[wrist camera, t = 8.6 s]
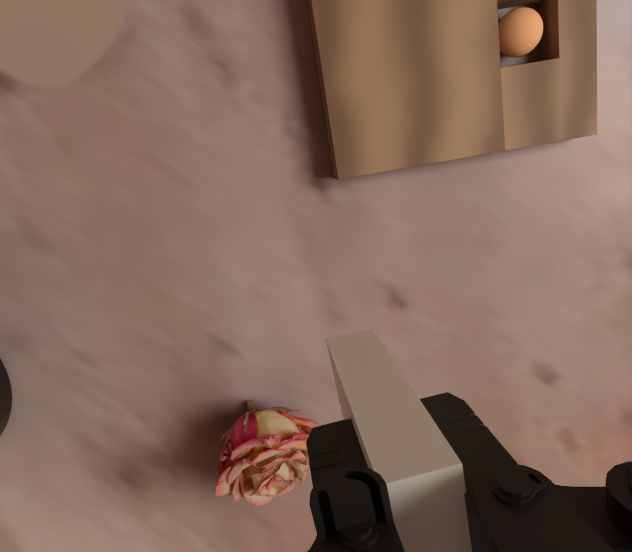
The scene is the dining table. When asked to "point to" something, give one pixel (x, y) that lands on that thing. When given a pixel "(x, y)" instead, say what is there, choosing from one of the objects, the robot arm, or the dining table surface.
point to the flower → (263, 455)
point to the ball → (519, 31)
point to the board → (447, 80)
